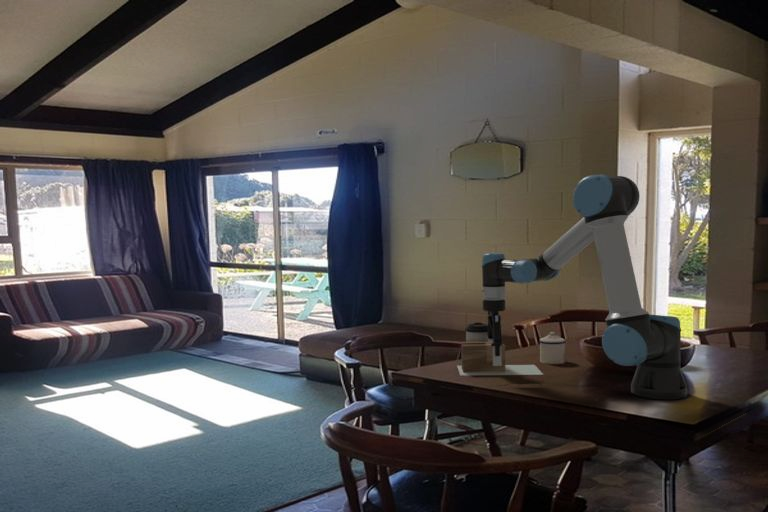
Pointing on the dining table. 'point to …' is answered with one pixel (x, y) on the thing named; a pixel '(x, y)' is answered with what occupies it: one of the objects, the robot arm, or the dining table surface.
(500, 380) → the dining table surface
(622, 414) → the dining table surface
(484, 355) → the slotted block
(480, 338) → the coffee cup
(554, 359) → the teacup with lid
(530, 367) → the board
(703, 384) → the dining table surface
